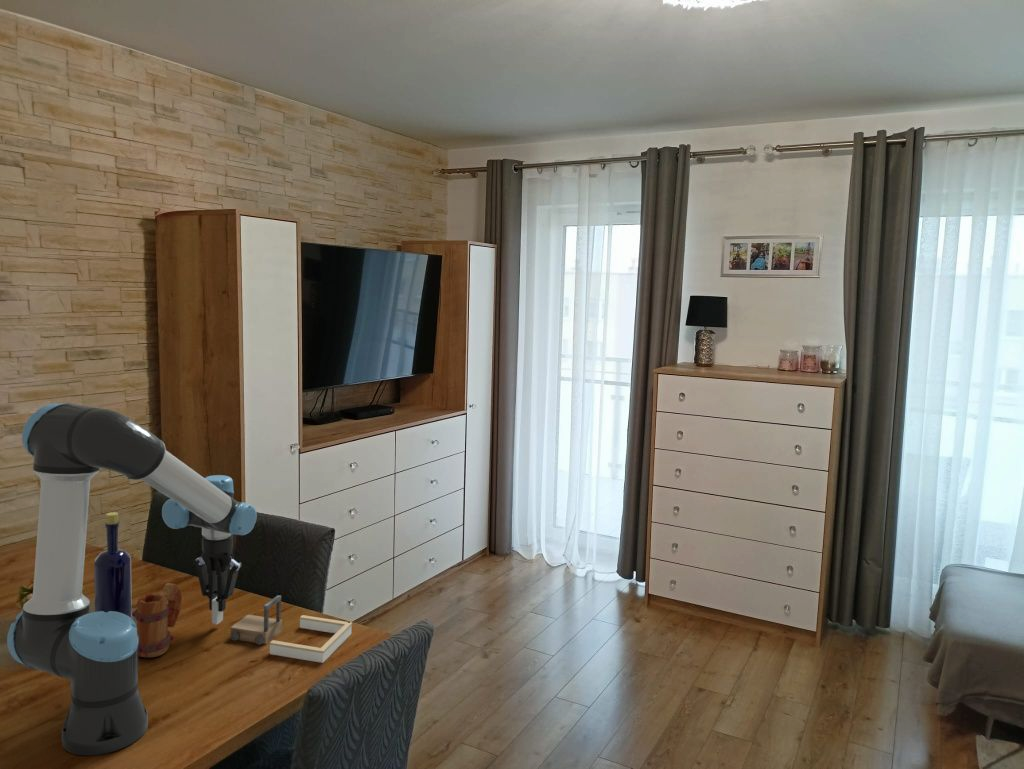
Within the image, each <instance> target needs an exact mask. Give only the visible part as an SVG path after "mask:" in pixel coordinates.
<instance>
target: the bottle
mask: <svg viewBox="0 0 1024 769" xmlns="http://www.w3.org/2000/svg"><path fill="white" fill-rule="evenodd" d="M105 518H106V519H105V521H106V522H105V526H104V527H105V529H106V550H104V551H101V552H100V553H99V554H98V555H97V557H95V559H94V565H93V571H94V572H93V573H94V575H93V576H94V577H93V578H94V579H93V580H94V612H99V611H104V612H109V611H114V612H119V613H123V614H125V615H127V616H129V617H130V618H132V619H133V616H132V613H133V610H132V607H133V606H132V604H133V603H132V601H133V600H132V556H131V555H130V554H129V552H127V550H125V549H121V548H119V527H120V521H119V512H115V511H113V512H107V513H105Z"/></svg>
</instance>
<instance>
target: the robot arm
mask: <svg viewBox="0 0 1024 769" xmlns="http://www.w3.org/2000/svg"><path fill="white" fill-rule="evenodd" d="M21 441H22V446H23V448H24V449H25V450H26V452H27V453H28V454H29V455H31V457H33V466H32V472H33V473H35V475H36V476H38V477H39V478H40V480H41V481H40V493H39V506H38V520H37V521H38V522H37V536H36V545H35V546H36V550H35V560H34V561H35V562H34V576H33V587H32V588H33V589H32V596H31V598H30V599H28V600H27V601H26V602H24V603H23V606H22V611H21V612H19V614H18V615H16V617H15V621H14V622H12V623H11V625H10V627H9V629H8V633H7V638H6V639H7V648H8V649H7V650H8V651H9V652H8V653H10V656H11V657H12V658H13V660H15V661H16V662H18V663H20V664H22V665H23V666H25V667H27V668H29V669H32V670H33V671H34V670H35V671H41V672H43V673H47V674H51V675H54V676H57V677H61V678H64V679H66V680H70V691H71V692H70V693H71V698H70V699H71V702H70V706H69V709H68V711H67V715H66V717H65V719H64V723H63V726H62V728H61V746H62V747H63V749H64V750H65V751H67V752H69V753H71V754H74V755H78V756H98V755H99V756H100V755H104V754H109V753H113V752H116V751H118V750H121V749H125V748H126V747H128V746H130V745H132V744H134V743H135V742H137V741H138V740H139V739H140V738H142V737H143V735H144V734H145V733H146V731H147V730H148V727H149V726H148V725H149V714H148V711H147V709H146V707H145V706H144V704H143V699H142V697H141V694H140V692H139V682H138V680H139V655H138V641H139V639H138V635H137V623H136V621H134V620H133V617H132V618H130V617H129V616H127V615H125V614H123V613H119V612H114V611H109V612H104V611H99V612H95V611H94V612H93V611H92V612H90V602H91V601H90V599H89V598H88V597H87V596H86V595H84V594H83V584H84V571H85V559H86V558H85V556H86V544H87V543H86V542H87V532H88V530H87V529H88V519H89V518H88V515H89V504H90V492H91V491H90V487H91V480H92V479H93V477H95V475H97V474H98V473H100V469H103V470H108V471H111V472H115V473H118V474H121V475H123V476H125V477H126V478H128V479H129V480H131V481H132V480H133V481H143V482H144V483H145V484H147V485H148V486H150V487H152V488H153V489H155V490H156V491H158V492H159V493H161V494H163V495H164V496H165V497H167V498H169V499H167V500H166V501H165V502H164V504H163V505H162V507H161V508H162V509H161V516H162V520H163V521H164V524H165V525H166V526H167V527H168V528H171V529H173V530H174V529H175V530H178V529H184V528H186V527H188V526H192V527H195V528H200V529H201V535H202V537H201V550H202V554H201V556H199V557H197V558H195V559H194V560H193V561H192V562H193V565H194V567H195V568H196V572H197V576H198V581H199V585H200V590H201V595H202V596H203V597H207V598H208V600H209V603H208V604H209V605H208V608H209V611H211V624H212V625H219V624H221V622H222V621H224V611H225V610H226V608H227V607H226V605H227V604H226V603H227V602H226V600H227V599H229V598H230V597H232V596H233V595H234V590H235V588H236V582H237V579H238V575H239V571H240V569H241V568H242V567H243V563H242V562H238V561H237V560H235V559H234V558H235V556H234V555H233V550H234V535H237V536H246V535H247V534H249V533H251V532H252V530H253V529H254V528H255V524H256V522H257V518H258V515H257V514H258V512H257V510H256V508H255V506H254V505H252V504H249V503H246V502H241V501H238V500H235V499H234V494H235V491H234V480H233V479H232V477H230V476H228V475H222V474H216V475H215V474H214V475H209V476H208V475H207V476H206V477H204V476H202V475H201V474H199V473H198V472H196V471H195V470H194V469H193V468H191V467H190V466H188V465H187V464H186V463H184V462H183V461H182V460H180V459H179V458H177V457H176V456H174V455H173V454H172V453H171V452H170V451H168V450H167V448H166V444H165V443H164V441H163V440H161V439H160V438H158V437H157V436H156V435H155V434H153V433H152V432H150V431H149V430H147V429H146V428H145V427H144V426H142V425H141V424H139V423H137V422H136V421H135V420H133V419H131V418H130V417H129V416H126V415H125V414H122V413H120V412H119V411H115V410H114V409H113V410H112V409H108V408H99V407H92V406H88V405H87V406H86V405H80V404H76V403H70V402H69V403H68V402H67V403H66V402H65V403H62V402H61V403H57V402H56V403H50V404H46V405H43V406H41V407H40V408H38V409H37V410H36V411H35V412H34V413H33V414H31V415H30V416H29V417H28V419H27V420H26V422H25V423H24V426H23V428H22V433H21ZM228 571H229V573H228ZM227 576H228V577H227Z"/></svg>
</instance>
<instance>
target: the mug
mask: <svg viewBox="0 0 1024 769" xmlns="http://www.w3.org/2000/svg"><path fill="white" fill-rule="evenodd" d="M181 605H182V592H181V590H180V587H179V586H178V585H177V583H172V582H171V583H170V582H167V583H166V584H165V585H164V586H163V588H162V590H161V591H160V592H159V593H158V592H157V593H155V594H154V593H148V594H145V596H141V597H139V599H138V601H137V608H136V609H135V610H134V611H132V617H134V619H135V620H136V627H137V635H138V639H139V641H138V657H142V658H155V657H160V656H162V655H163V654H165V653H166V652H167V651H168V650H169V645H170V644H171V642H172V641H174V636H173V634H172V633H171V631H170V630H169V628H173V627H175V625H176V622H177V620H178V617H179V615H180V612H181V607H182V606H181ZM168 627H169V628H168Z"/></svg>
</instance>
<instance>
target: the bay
mask: <svg viewBox="0 0 1024 769" xmlns="http://www.w3.org/2000/svg"><path fill="white" fill-rule="evenodd" d="M348 622H350V621H342V620H337V619H330V618H325V617H318V616H310V615H303V614H302V615H301V616H300V617H299V628H300V629H306V630H312V631H318V632H325V633H330V634H331V633H332V634H334V635H332V636H331V637H330V638H329V639H328V640H327V641H326V642H325V643H324V644H323V645H322V646H321V647H317V646H311V645H305V644H300V643H299V644H298V643H292V642H286V641H281V640H274V639H272V640H271V641H270V642H269V655H272V656H280V657H284V658H291V659H297V660H304V661H310V662H315V663H316V662H317V663H321V664H323V663H325V662H326V660H328V658H329V657H330V656H332V655H333V653H334V652H335V651H336V650H337V649H338V648H339V647H340V646H341V645H342V644H344V642H345V641H346V640H347V639H348V638H350V636H351V635H352V630H353V629H352V628H353V627H352V626H353V622H350V623H348Z"/></svg>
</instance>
